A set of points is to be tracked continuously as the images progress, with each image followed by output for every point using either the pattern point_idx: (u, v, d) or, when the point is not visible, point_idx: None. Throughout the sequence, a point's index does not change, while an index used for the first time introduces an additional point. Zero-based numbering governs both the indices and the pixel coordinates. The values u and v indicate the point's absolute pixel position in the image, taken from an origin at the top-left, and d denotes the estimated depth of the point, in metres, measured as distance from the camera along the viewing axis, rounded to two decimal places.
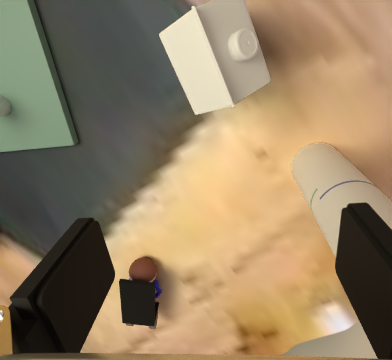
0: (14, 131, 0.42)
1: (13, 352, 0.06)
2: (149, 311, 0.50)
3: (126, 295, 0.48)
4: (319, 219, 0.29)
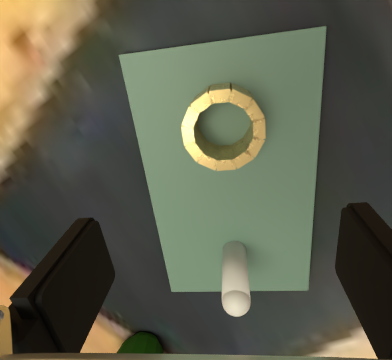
0: None
1: (13, 352, 0.06)
2: None
3: None
4: None
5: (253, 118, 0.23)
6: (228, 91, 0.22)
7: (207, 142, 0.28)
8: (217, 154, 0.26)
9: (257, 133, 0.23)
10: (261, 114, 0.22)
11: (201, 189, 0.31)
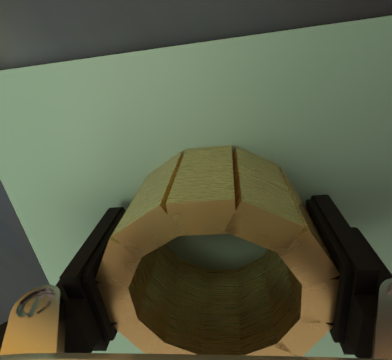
0: None
1: (58, 335, 0.06)
2: None
3: None
4: None
5: (304, 277, 0.07)
6: (228, 206, 0.07)
7: (181, 268, 0.12)
8: (201, 317, 0.11)
9: (313, 310, 0.08)
10: (331, 269, 0.07)
11: None
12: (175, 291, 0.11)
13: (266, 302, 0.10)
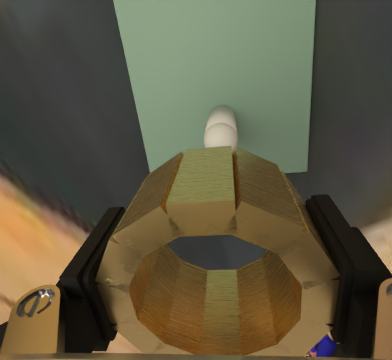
0: None
1: (58, 335, 0.06)
2: None
3: None
4: None
5: (304, 278, 0.07)
6: (228, 207, 0.07)
7: (181, 268, 0.12)
8: (201, 318, 0.11)
9: (313, 311, 0.08)
10: (331, 269, 0.07)
11: (181, 31, 0.26)
12: (175, 292, 0.11)
13: (266, 303, 0.10)
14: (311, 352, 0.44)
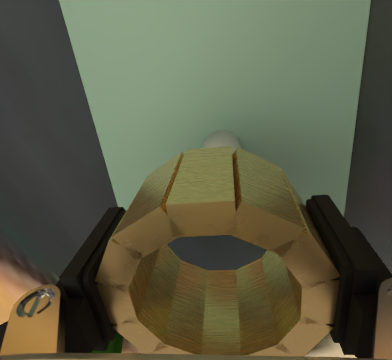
0: None
1: (58, 335, 0.06)
2: None
3: None
4: None
5: (304, 278, 0.07)
6: (228, 207, 0.07)
7: (181, 269, 0.12)
8: (201, 318, 0.11)
9: (313, 311, 0.08)
10: (331, 270, 0.07)
11: (159, 19, 0.17)
12: (175, 292, 0.11)
13: (266, 303, 0.10)
14: None
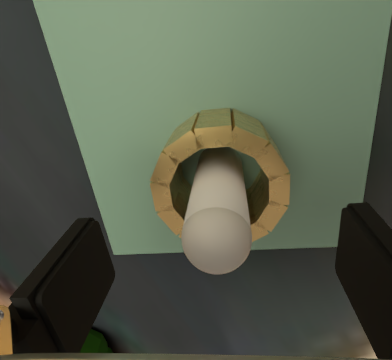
0: None
1: (13, 352, 0.06)
2: None
3: None
4: None
5: (270, 173, 0.13)
6: (228, 129, 0.13)
7: None
8: None
9: (276, 196, 0.14)
10: (284, 167, 0.13)
11: (147, 18, 0.15)
12: None
13: (251, 207, 0.16)
14: None
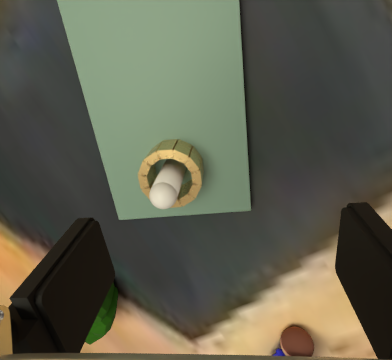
0: None
1: (13, 352, 0.06)
2: None
3: None
4: None
5: (191, 170, 0.30)
6: (171, 151, 0.29)
7: None
8: None
9: (195, 180, 0.30)
10: (196, 167, 0.30)
11: (136, 99, 0.31)
12: None
13: (188, 187, 0.33)
14: None
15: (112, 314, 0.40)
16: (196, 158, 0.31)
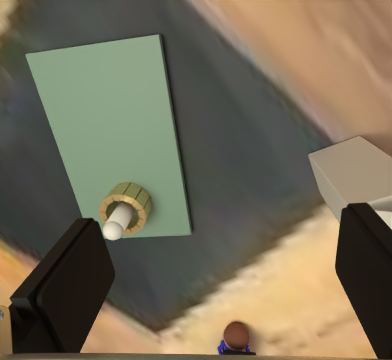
0: None
1: (13, 352, 0.06)
2: None
3: None
4: None
5: (137, 208, 0.40)
6: (121, 195, 0.40)
7: None
8: None
9: (141, 216, 0.41)
10: (141, 207, 0.40)
11: (98, 153, 0.41)
12: None
13: (139, 219, 0.43)
14: None
15: None
16: (143, 198, 0.41)
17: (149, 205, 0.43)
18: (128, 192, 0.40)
